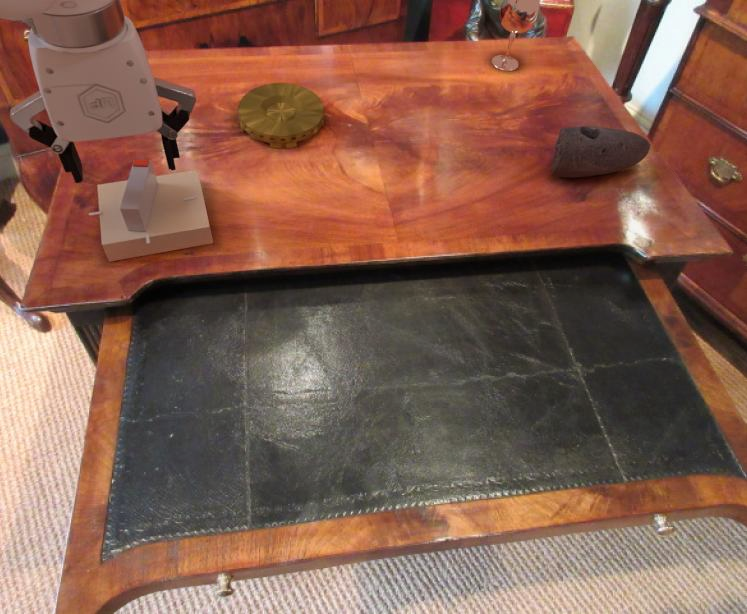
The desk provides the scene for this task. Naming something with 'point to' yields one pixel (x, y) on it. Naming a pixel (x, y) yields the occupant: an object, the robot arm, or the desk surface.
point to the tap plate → (155, 218)
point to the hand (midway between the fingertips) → (126, 168)
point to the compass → (281, 114)
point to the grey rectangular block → (139, 195)
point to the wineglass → (515, 26)
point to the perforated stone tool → (596, 151)
